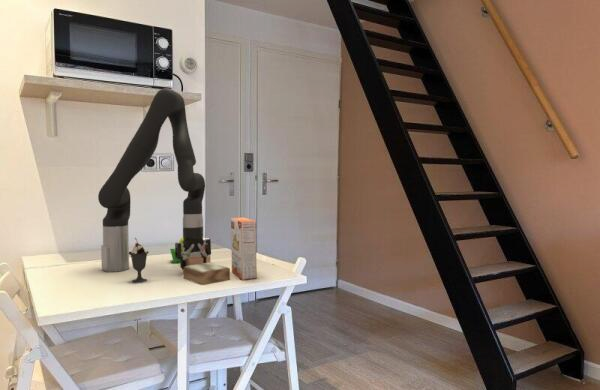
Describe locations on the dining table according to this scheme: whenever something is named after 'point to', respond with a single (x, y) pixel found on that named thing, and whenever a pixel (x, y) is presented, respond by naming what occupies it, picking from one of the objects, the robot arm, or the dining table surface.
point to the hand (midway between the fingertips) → (193, 268)
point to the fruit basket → (174, 252)
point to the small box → (199, 253)
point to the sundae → (138, 261)
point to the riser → (206, 273)
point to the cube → (193, 260)
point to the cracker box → (243, 248)
